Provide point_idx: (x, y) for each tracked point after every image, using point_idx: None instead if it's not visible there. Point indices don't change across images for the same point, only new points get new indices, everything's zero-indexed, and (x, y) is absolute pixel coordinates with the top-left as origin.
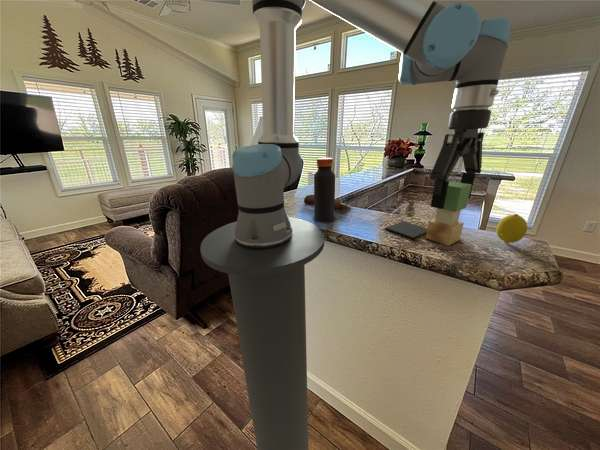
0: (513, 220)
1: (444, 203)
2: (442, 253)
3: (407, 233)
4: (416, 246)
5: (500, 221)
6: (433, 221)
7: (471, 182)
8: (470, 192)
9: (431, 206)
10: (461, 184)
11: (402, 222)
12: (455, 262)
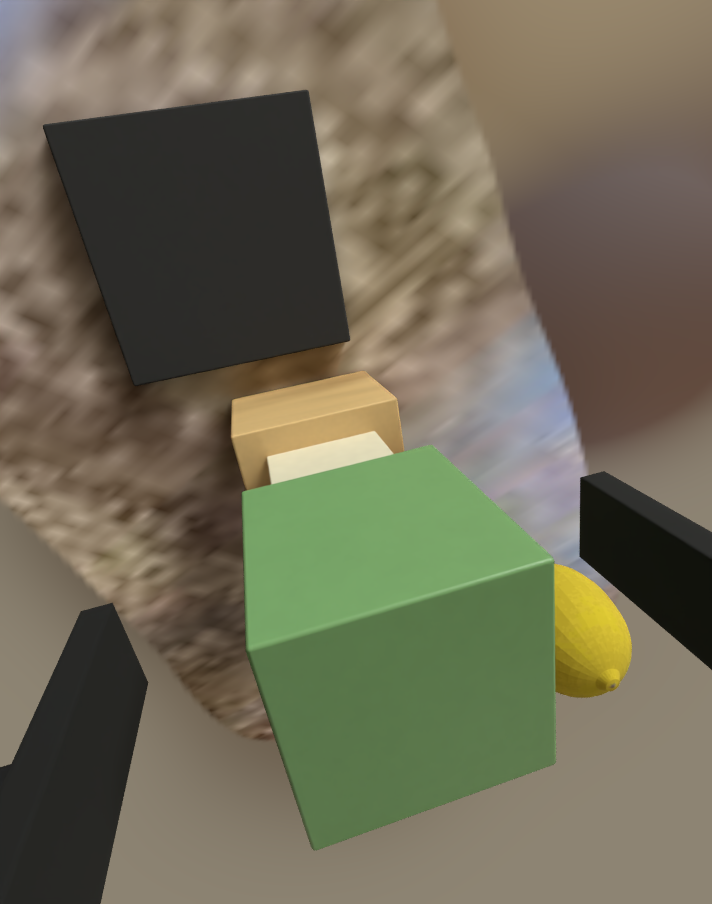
0: (558, 683)
1: (137, 721)
2: (164, 563)
3: (142, 318)
4: (87, 462)
5: (558, 617)
6: (257, 455)
7: (701, 653)
8: (625, 588)
9: (83, 619)
10: (472, 746)
11: (274, 115)
12: (149, 635)
